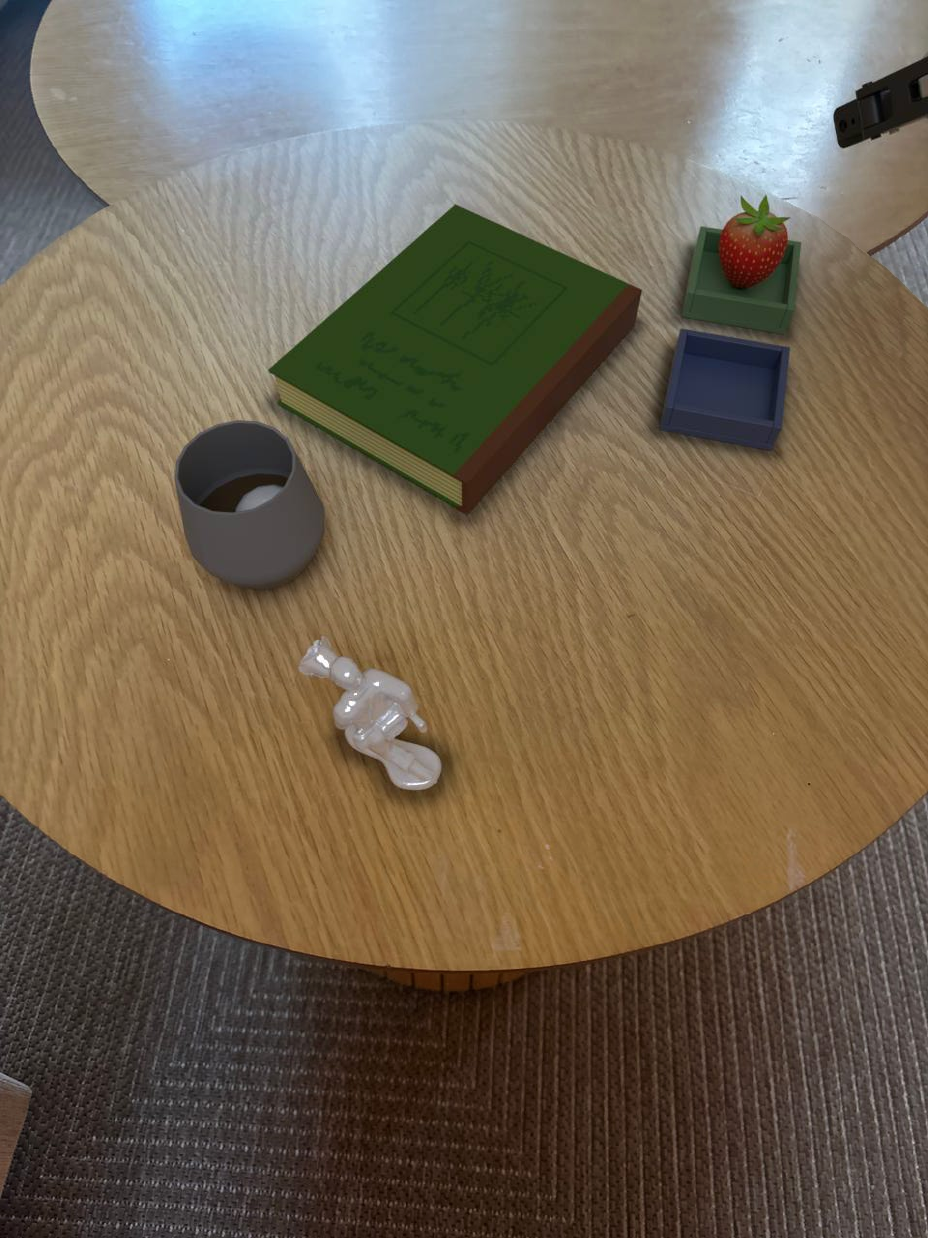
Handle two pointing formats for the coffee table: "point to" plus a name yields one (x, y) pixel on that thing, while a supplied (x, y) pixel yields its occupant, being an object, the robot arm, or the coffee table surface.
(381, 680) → the figurine
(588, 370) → the hardcover book
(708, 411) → the blue tray
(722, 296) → the green tray
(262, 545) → the cup
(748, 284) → the fruit
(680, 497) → the coffee table surface
